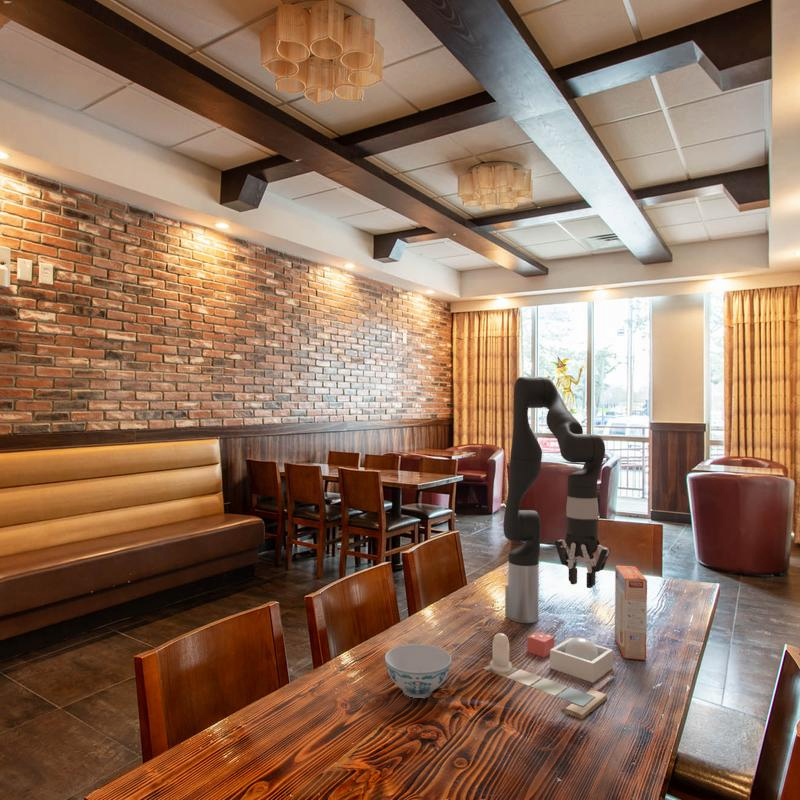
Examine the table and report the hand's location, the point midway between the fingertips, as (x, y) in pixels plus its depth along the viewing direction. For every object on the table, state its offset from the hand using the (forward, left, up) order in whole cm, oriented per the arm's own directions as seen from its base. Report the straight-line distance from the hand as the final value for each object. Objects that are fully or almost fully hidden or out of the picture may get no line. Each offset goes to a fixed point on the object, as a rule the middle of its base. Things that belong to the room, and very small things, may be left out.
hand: (581, 585), depth 140 cm
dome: (0, 0, -21) cm, 21 cm away
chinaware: (-22, -36, -21) cm, 47 cm away
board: (-4, -15, -21) cm, 26 cm away
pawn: (-14, -15, -20) cm, 28 cm away
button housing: (0, 0, -21) cm, 21 cm away
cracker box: (+3, +22, -21) cm, 31 cm away
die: (-12, +1, -21) cm, 24 cm away
